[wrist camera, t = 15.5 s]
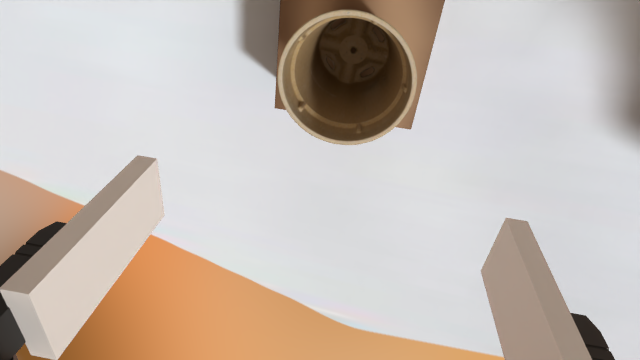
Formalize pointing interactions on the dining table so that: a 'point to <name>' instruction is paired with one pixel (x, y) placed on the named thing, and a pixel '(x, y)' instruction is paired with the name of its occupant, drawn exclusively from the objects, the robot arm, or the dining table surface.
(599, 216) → the dining table surface
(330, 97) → the flower pot
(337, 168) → the dining table surface
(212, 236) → the dining table surface
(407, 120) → the walnut block
